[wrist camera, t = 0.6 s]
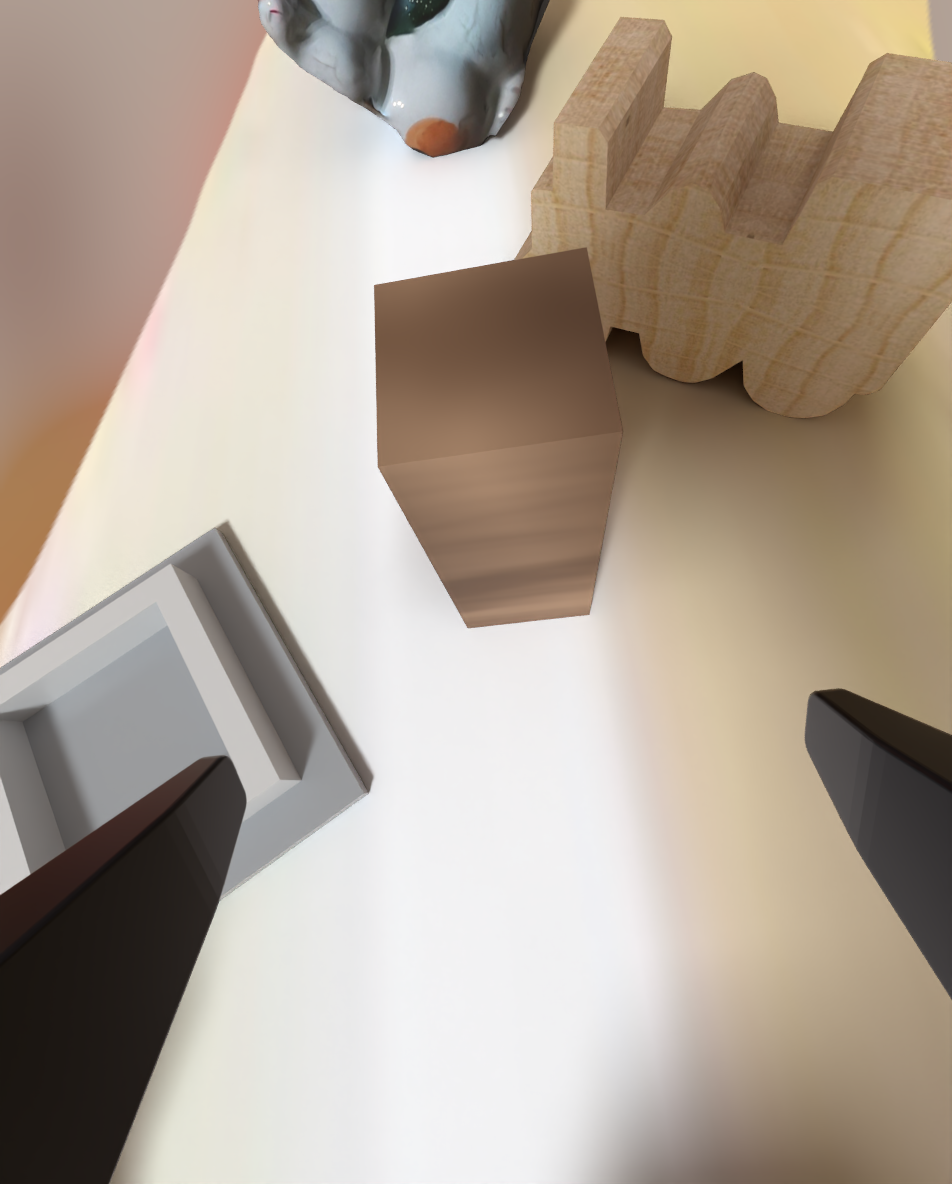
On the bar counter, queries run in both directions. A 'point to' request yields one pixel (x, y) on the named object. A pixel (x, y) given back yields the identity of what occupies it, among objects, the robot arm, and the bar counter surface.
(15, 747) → the bay tray
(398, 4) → the lucky cat figurine
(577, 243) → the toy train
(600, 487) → the tapered wooden block
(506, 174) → the bar counter surface
